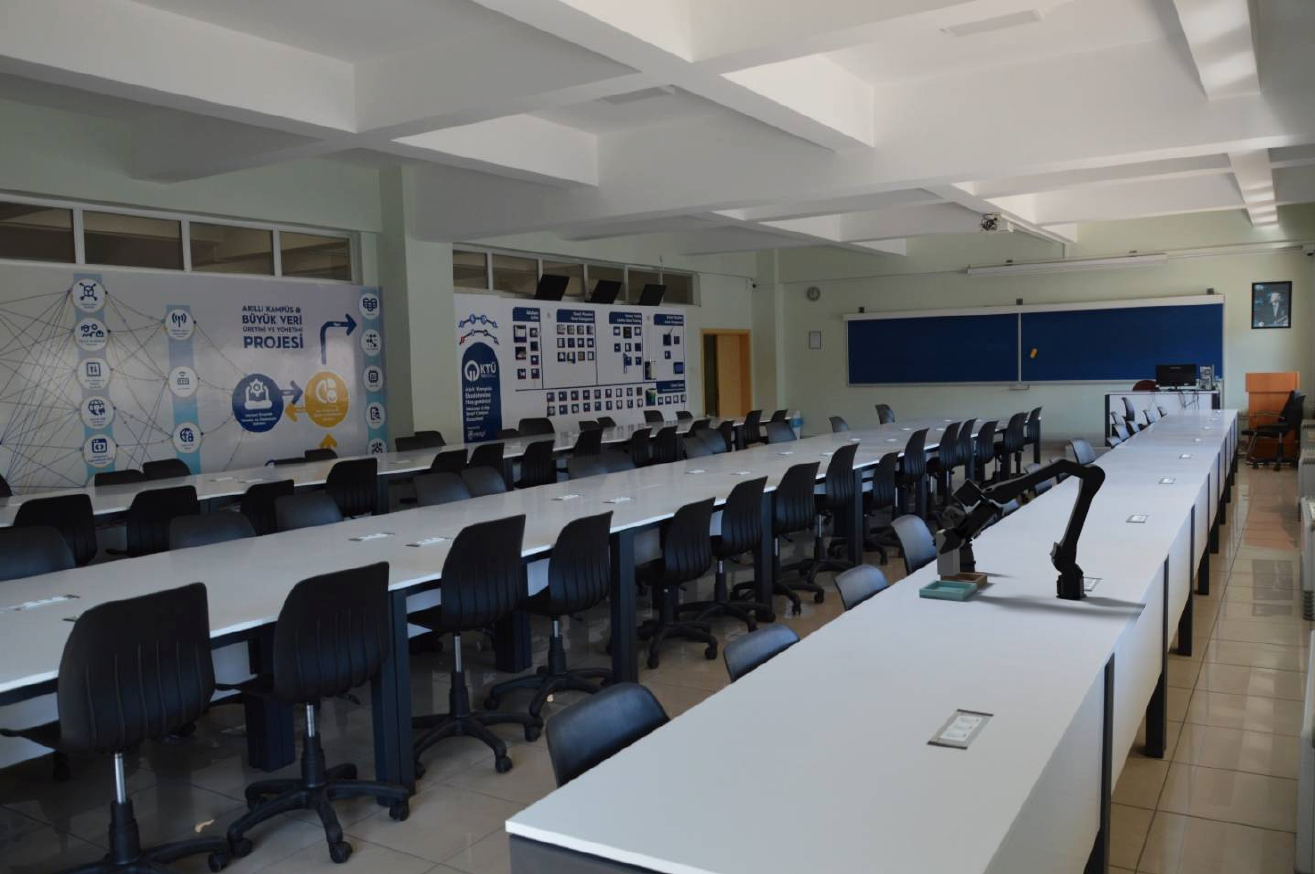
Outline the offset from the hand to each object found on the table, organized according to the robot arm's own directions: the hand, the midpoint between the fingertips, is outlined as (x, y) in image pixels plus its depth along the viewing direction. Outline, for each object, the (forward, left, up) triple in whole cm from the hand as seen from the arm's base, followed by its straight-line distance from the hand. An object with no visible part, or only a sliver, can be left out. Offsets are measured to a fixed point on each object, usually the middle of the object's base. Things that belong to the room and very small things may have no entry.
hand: (943, 551), depth 295 cm
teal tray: (-2, +1, -13) cm, 13 cm away
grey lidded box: (-1, 0, -7) cm, 7 cm away
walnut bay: (0, -12, -13) cm, 18 cm away
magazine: (+12, -28, -13) cm, 34 cm away
